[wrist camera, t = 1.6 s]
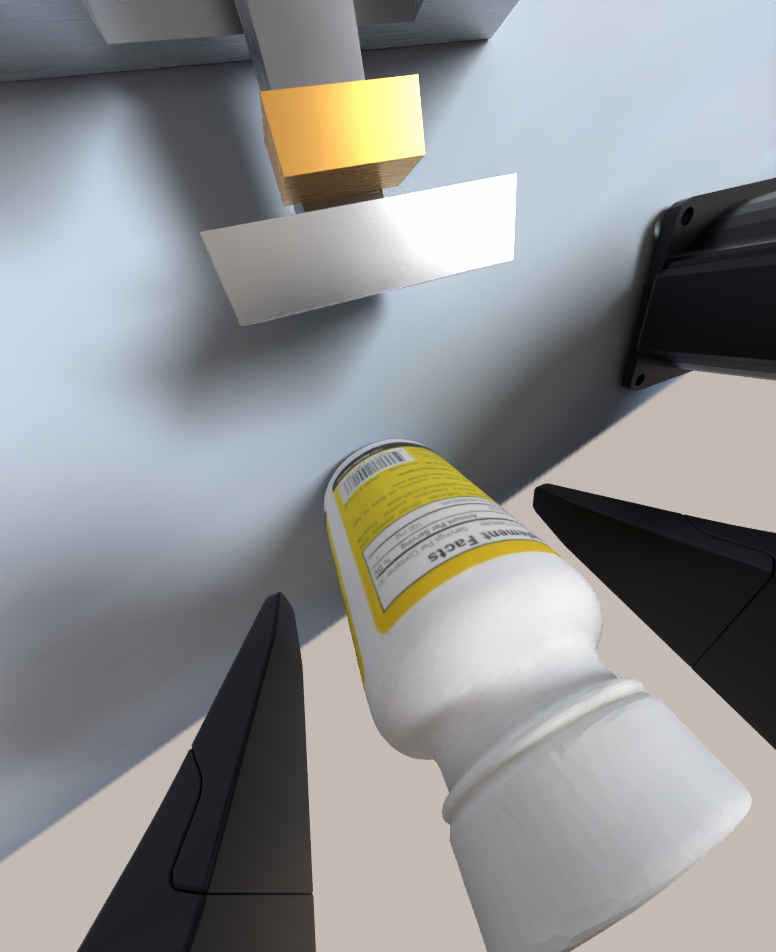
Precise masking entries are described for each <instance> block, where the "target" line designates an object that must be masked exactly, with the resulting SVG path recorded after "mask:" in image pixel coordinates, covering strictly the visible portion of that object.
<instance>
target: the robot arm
mask: <svg viewBox="0 0 776 952" xmlns="http://www.w3.org/2000/svg"><path fill="white" fill-rule="evenodd" d="M693 370H695V371H703V372H711V373H719V374H727V375H735V376H744V377H752V378H759V379H767V380H776V178H773V179H769V180H764V181H760V182H755V183H751V184H747V185H742V186H738V187H734V188H729V189H725V190H720V191H716V192H712V193H707V194H703V195H698V196H694V197H691V198H687V199H684V200H681V201H678V202H676V203H674V204H673V205H672V206H671V207H670V208H669V210H668V212H667V213H666V215H665V218H664V221H663V223H662V227H661V231H660V235H659V239H658V243H657V247H656V251H655V255H654V259H653V263H652V266H651V270H650V274H649V278H648V282H647V286H646V290H645V294H644V298H643V302H642V306H641V309H640V313H639V317H638V321H637V325H636V329H635V333H634V337H633V341H632V345H631V349H630V352H629V356H628V360H627V364H626V368H625V372H624V376H623V380H622V388H623V389H625V390H629V391H638V390H641V389H644V388H647V387H649V386H652V385H655V384H657V383H660V382H663V381H666V380H668V379H671V378H674V377H677V376H679V375H682V374H685V373H688V372H690V371H693ZM533 508H534V510H535V511H536V513H537V514H538V515H539V516H540V517H541V519H542V520H543V521H544V522H545V523H546V524H547V526H548V527H549V528H550V529H551V530H552V531H553V533H554V534H555V535H556V536H557V537H558V538H559V540H560V541H561V542H562V543H563V544H564V545H565V546H566V547H567V548H568V549H569V550H570V551H571V552H572V553H573V554H574V555H575V556H576V557H577V558H578V559H579V560H580V561H581V562H582V563H583V564H584V565H585V566H586V567H587V568H589V569H590V571H592V572H593V573H594V574H595V575H596V576H597V577H598V578H599V579H600V580H601V581H602V582H603V583H604V584H605V585H606V586H607V587H608V588H609V589H610V590H611V591H612V592H613V593H614V594H615V595H617V596H618V598H619V599H621V600H622V601H623V602H624V603H625V604H626V605H627V606H628V607H629V608H630V609H631V610H632V611H633V612H634V613H635V614H636V615H637V616H638V617H639V618H640V619H641V620H642V621H643V622H644V623H645V624H646V625H648V627H650V628H651V629H652V630H653V631H654V632H655V633H656V634H657V635H658V636H659V637H660V638H661V639H662V640H663V641H664V642H665V643H666V644H667V645H668V646H669V647H670V648H671V649H672V650H673V651H674V652H675V653H676V654H678V656H680V657H681V658H682V659H683V660H684V661H685V662H686V663H687V664H688V665H689V666H690V667H691V668H692V669H693V670H694V671H695V672H696V673H697V674H698V675H699V676H700V677H701V678H702V679H703V680H704V681H705V682H706V683H707V684H708V685H709V686H710V687H711V688H712V689H713V690H714V691H716V693H718V694H719V695H720V696H721V697H722V698H723V699H724V700H725V701H726V702H727V703H728V704H729V705H730V706H731V707H732V708H733V709H734V710H735V711H736V712H737V713H738V714H739V715H740V716H741V717H742V718H743V719H745V721H747V722H748V723H749V724H750V725H751V726H752V727H753V728H754V729H755V730H756V731H757V732H758V733H759V734H760V735H761V736H762V737H763V738H764V739H765V740H766V741H767V742H768V743H769V744H770V745H771V746H772V747H773V748H774V749H776V533H773V532H767V531H761V530H756V529H751V528H746V527H741V526H736V525H730V524H725V523H721V522H716V521H711V520H707V519H702V518H698V517H693V516H689V515H682V514H680V513H676V512H671V511H667V510H662V509H658V508H654V507H649V506H645V505H640V504H636V503H632V502H627V501H623V500H618V499H614V498H609V497H605V496H601V495H596V494H592V493H588V492H583V491H579V490H575V489H570V488H565V487H561V486H557V485H553V484H543V485H541V486H538V487H536V488H535V491H534V499H533ZM304 710H305V709H304V689H303V669H302V659H301V652H300V646H299V640H298V634H297V627H296V621H295V615H294V610H293V608H292V606H291V604H290V603H289V602H288V600H287V599H286V597H285V596H284V594H283V593H282V592H277V593H275V594H273V595H270V596H268V597H267V598H266V599H265V601H264V603H263V605H262V607H261V609H260V611H259V613H258V615H257V617H256V619H255V621H254V623H253V625H252V627H251V629H250V631H249V633H248V635H247V637H246V639H245V641H244V643H243V645H242V647H241V649H240V651H239V653H238V655H237V657H236V658H235V660H234V662H233V664H232V666H231V668H230V670H229V672H228V674H227V676H226V678H225V680H224V682H223V684H222V686H221V688H220V690H219V692H218V694H217V696H216V698H215V700H214V702H213V704H212V706H211V708H210V710H209V712H208V714H207V716H206V718H205V720H204V722H203V724H202V726H201V728H200V730H199V732H198V734H197V736H196V738H195V740H194V742H193V743H192V749H190V750H189V751H188V753H187V755H186V757H185V759H184V761H183V763H182V765H181V767H180V769H179V771H178V773H177V775H176V777H175V779H174V781H173V782H172V784H171V786H170V788H169V790H168V792H167V794H166V796H165V798H164V800H163V802H162V803H161V805H160V807H159V809H158V811H157V813H156V814H155V816H154V818H153V820H152V821H151V824H150V825H149V827H148V829H147V830H146V832H145V834H144V836H143V838H142V839H141V841H140V843H139V845H138V847H137V848H136V850H135V852H134V854H133V855H132V857H131V859H130V860H129V863H128V864H127V866H126V867H125V869H124V871H123V873H122V875H121V876H120V878H119V880H118V881H117V883H116V885H115V887H114V888H113V890H112V892H111V894H110V895H109V897H108V899H107V900H106V902H105V904H104V906H103V907H102V909H101V911H100V913H99V914H98V916H97V918H96V919H95V921H94V923H93V925H92V926H91V928H90V930H89V932H88V933H87V935H86V937H85V939H84V940H83V942H82V944H81V945H80V947H79V949H78V951H77V952H316V945H315V923H314V902H313V894H312V892H313V883H312V862H311V841H310V819H309V796H308V774H307V753H306V733H305V732H306V731H305V711H304Z"/></svg>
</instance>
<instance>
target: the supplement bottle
mask: <svg viewBox="0 0 776 952" xmlns="http://www.w3.org/2000/svg"><path fill="white" fill-rule="evenodd" d="M324 515H325V521H326V527H327V531H328V536H329V540H330V545H331V549H332V553H333V557H334V561H335V566H336V570H337V575H338V579H339V583H340V587H341V592H342V596H343V600H344V605H345V609H346V613H347V617H348V622H349V626H350V630H351V635H352V639H353V643H354V647H355V652H356V656H357V661H358V665H359V669H360V674H361V678H362V682H363V687H364V690H365V694H366V697H367V701H368V704H369V708H370V711H371V714H372V717H373V720H374V723H375V725H376V727H377V729H378V730H379V732H380V734H381V735H382V736H383V737H384V739H385V740H386V741H387V742H388V743H389V744H390V745H391V746H392V747H394V748H395V749H396V750H397V751H399V752H400V753H402V754H405V755H407V756H409V757H412V758H416V759H427V760H430V759H433V760H435V761H436V762H437V764H438V766H439V767H440V769H441V772H442V774H443V777H444V780H445V782H446V785H447V788H448V790H449V795H448V796H447V798H446V799H445V802H444V804H443V809H442V814H443V818H444V821H445V822H446V823H448V824H450V826H451V827H450V842H451V846H452V849H453V852H454V855H455V857H456V860H457V863H458V866H459V869H460V872H461V875H462V878H463V881H464V885H465V887H466V890H467V893H468V896H469V899H470V901H471V904H472V908H473V910H474V913H475V916H476V919H477V922H478V925H479V928H480V931H481V934H482V937H483V940H484V944H485V946H486V950H487V952H570V951H571V950H573V949H575V948H576V947H578V946H580V945H581V944H583V943H585V942H586V941H588V940H590V939H591V938H593V937H594V936H596V935H598V934H599V933H601V932H603V931H604V930H605V929H607V928H609V927H610V926H612V925H613V924H615V923H617V922H618V921H620V920H621V919H623V918H624V917H626V916H628V915H629V914H631V913H632V912H634V911H635V910H637V909H638V908H640V907H641V906H642V905H644V904H645V903H647V902H648V901H649V900H651V899H652V898H653V897H655V896H656V895H657V894H658V893H659V892H661V891H662V890H664V889H665V888H666V887H667V886H669V885H670V884H671V883H673V882H674V881H675V880H676V879H678V878H679V877H680V876H681V875H683V874H684V873H685V872H686V871H688V870H689V869H690V868H691V867H692V866H694V865H695V864H696V863H697V862H698V861H699V860H701V859H702V858H703V857H705V856H706V855H707V854H708V853H709V852H710V851H711V850H712V849H713V848H715V847H716V846H717V845H718V844H719V843H720V842H721V841H722V840H723V839H725V838H726V837H727V836H728V835H729V834H730V833H731V832H732V831H733V830H734V829H735V828H736V827H737V825H738V824H739V823H740V822H741V821H742V819H743V818H744V817H745V816H746V814H747V813H748V811H749V808H750V806H751V802H752V799H751V796H750V794H749V792H748V791H747V790H746V788H745V787H744V786H743V785H742V784H741V783H740V782H739V780H737V778H736V777H735V776H734V775H733V774H732V773H731V772H730V771H729V770H728V769H727V768H726V767H725V766H724V765H723V764H722V763H721V762H720V761H719V760H718V759H717V758H716V757H715V756H714V755H713V754H712V753H711V752H710V751H709V750H708V749H707V748H706V747H705V746H704V744H703V743H702V742H701V741H700V740H699V739H698V738H697V737H696V736H695V735H694V734H693V733H692V732H691V731H690V730H689V729H688V728H687V727H686V726H685V725H684V724H683V723H682V722H681V721H680V720H679V719H678V718H677V716H676V715H675V714H674V713H673V712H672V711H671V710H670V709H669V708H668V707H667V706H666V705H665V704H664V702H663V701H662V700H660V699H659V698H658V697H656V696H653V695H650V694H648V693H644V686H643V685H642V684H641V682H640V681H639V680H637V679H635V678H633V677H620V678H617V677H616V676H615V675H614V674H613V673H612V672H611V671H610V670H609V669H608V668H607V667H606V666H605V665H604V664H603V662H602V661H601V659H600V658H599V656H598V655H597V652H596V649H597V648H598V645H599V642H600V639H601V635H602V626H603V624H602V611H601V608H600V604H599V602H598V599H597V596H596V594H595V593H594V591H593V589H592V588H591V586H590V585H589V584H588V582H587V581H586V580H585V579H584V578H583V577H582V576H581V575H580V574H579V573H578V572H577V571H576V570H575V569H574V568H573V567H572V566H571V565H569V564H568V563H567V562H566V561H565V560H564V559H563V558H562V557H561V556H560V555H558V554H557V553H556V552H555V551H554V550H552V549H551V548H550V547H549V546H547V545H546V544H545V543H544V542H543V541H542V540H540V539H539V538H538V537H537V536H535V535H534V534H533V533H532V532H531V531H529V530H528V529H527V528H526V527H525V526H523V525H522V524H521V523H520V522H519V521H518V520H516V519H515V518H514V517H513V516H512V515H510V514H509V513H508V512H507V511H506V510H504V509H503V508H502V507H501V506H500V505H499V504H497V503H496V502H495V501H494V500H493V499H491V498H490V497H489V496H488V495H486V494H485V493H484V492H483V491H482V490H480V489H479V488H478V487H477V486H476V485H475V484H473V483H472V482H471V481H470V480H469V479H467V478H466V477H465V476H464V475H463V474H461V473H460V472H459V471H458V470H457V469H455V468H454V467H453V466H452V465H451V464H449V463H448V462H447V461H446V460H444V459H443V458H442V457H441V456H439V455H438V454H437V453H436V452H434V451H433V450H431V449H430V448H428V447H427V446H425V445H423V444H420V443H418V442H415V441H411V440H406V439H388V440H383V441H378V442H375V443H372V444H369V445H367V446H365V447H363V448H361V449H360V450H358V451H356V452H355V453H353V454H352V455H351V456H349V457H348V458H347V459H346V460H345V461H344V462H343V463H342V464H341V465H340V466H339V468H338V469H337V470H336V472H335V473H334V475H333V476H332V478H331V480H330V482H329V484H328V487H327V489H326V493H325V498H324Z"/></svg>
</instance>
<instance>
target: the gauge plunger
mask: <svg viewBox="0 0 776 952" xmlns="http://www.w3.org/2000/svg"><path fill="white" fill-rule="evenodd" d="M235 4H236V7H237V11H238V14H239V18H240V21H241V25H242V28H243V32H244V35H245V39H246V42H247V46H248V49H249V53H250V56H251V60H252V63H253V67H254V70H255V74H256V77H257V80H258V84H259V87H260V101H261V111H262V121H263V130H264V140H265V145H266V148H267V152H268V155H269V158H270V162H271V165H272V168H273V172H274V175H275V178H276V182H277V185H278V188H279V192H280V195H281V198H282V202H283V205H284V206H287V205H293V206H294V210H295V213H296V214H295V215H289V216H284V217H278V218H273V219H267V220H262V221H257V222H251V223H246V224H240V225H235V226H229V227H224V228H219V229H213V230H208V231H202V232H199V233H200V235H201V237H202V240H203V242H204V244H205V246H206V249H207V251H208V253H209V255H210V258H211V260H212V262H213V265H214V267H215V269H216V271H217V274H218V276H219V278H220V280H221V283H222V285H223V287H224V290H225V292H226V294H227V296H228V299H229V301H230V303H231V305H232V308H233V310H234V312H235V315H236V317H237V319H238V321H239V324H240V326H244V325H251V324H257V323H262V322H266V321H270V320H274V319H278V318H282V317H286V316H290V315H295V314H299V313H303V312H307V311H311V310H315V309H319V308H323V307H327V306H331V305H335V304H340V303H344V302H348V301H352V300H356V299H360V298H364V297H368V296H372V295H376V294H380V293H385V292H389V291H393V290H397V289H401V288H405V287H409V286H413V285H417V284H421V283H425V282H429V281H433V280H437V279H441V278H445V277H449V276H452V275H456V274H460V273H464V272H468V271H472V270H475V269H479V268H483V267H487V266H491V265H495V264H499V263H502V262H506V261H510V260H513V254H514V225H515V197H516V174H512V175H506V176H501V177H495V178H490V179H485V180H479V181H474V182H468V183H463V184H457V185H452V186H447V187H441V188H436V189H430V190H425V191H419V192H414V193H409V194H403V195H398V196H392V197H387V198H383V192H382V189H383V188H388V187H394V186H398V185H399V184H400V183H401V182H402V181H403V179H404V178H405V177H406V176H407V175H408V174H409V173H410V171H411V170H412V169H413V168H414V167H415V166H416V164H417V163H418V162H419V161H420V160H421V159H422V157H423V156H424V155H425V147H424V136H423V125H422V113H421V102H420V91H419V80H418V74H417V75H408V76H399V77H390V78H380V79H371V80H365V75H364V69H363V62H362V56H361V49H360V43H359V36H358V30H357V23H356V17H355V10H354V4H353V0H235Z"/></svg>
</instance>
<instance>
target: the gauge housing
mask: <svg viewBox="0 0 776 952" xmlns="http://www.w3.org/2000/svg"><path fill="white" fill-rule="evenodd" d="M518 1H519V0H353V4H354V10H355V17H356V23H357V30H358V36H359V43H360V49H361V50H366V49H377V48H389V47H400V46H411V45H422V44H434V43H445V42H456V41H467V40H479V39H490V38H491V37H492V36H493V35H494V33H495V32H496V31H497V29H498V28H499V26H500V25H501V24H502V22H503V21H504V20H505V18H506V17H507V16H508V14H509V13H510V12H511V10H512V9H513V8H514V6H515V5H516V3H517V2H518ZM242 60H251V56H250V53H249V49H248V46H247V42H246V39H245V35H244V32H243V28H242V25H241V21H240V18H239V14H238V11H237V7H236V4H235V0H0V82H6V81H17V80H28V79H40V78H51V77H62V76H73V75H85V74H96V73H107V72H118V71H130V70H141V69H152V68H163V67H175V66H186V65H197V64H208V63H220V62H231V61H242Z"/></svg>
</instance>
